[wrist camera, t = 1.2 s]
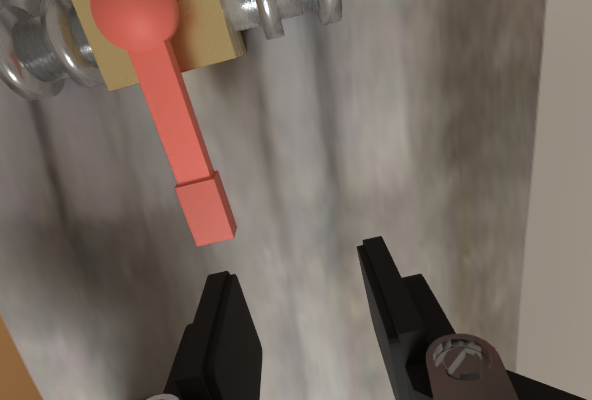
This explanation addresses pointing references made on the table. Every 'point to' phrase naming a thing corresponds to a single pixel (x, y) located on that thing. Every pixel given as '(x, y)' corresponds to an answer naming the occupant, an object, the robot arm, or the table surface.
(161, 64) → the lever
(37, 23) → the ball valve
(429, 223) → the table surface
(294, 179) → the table surface
